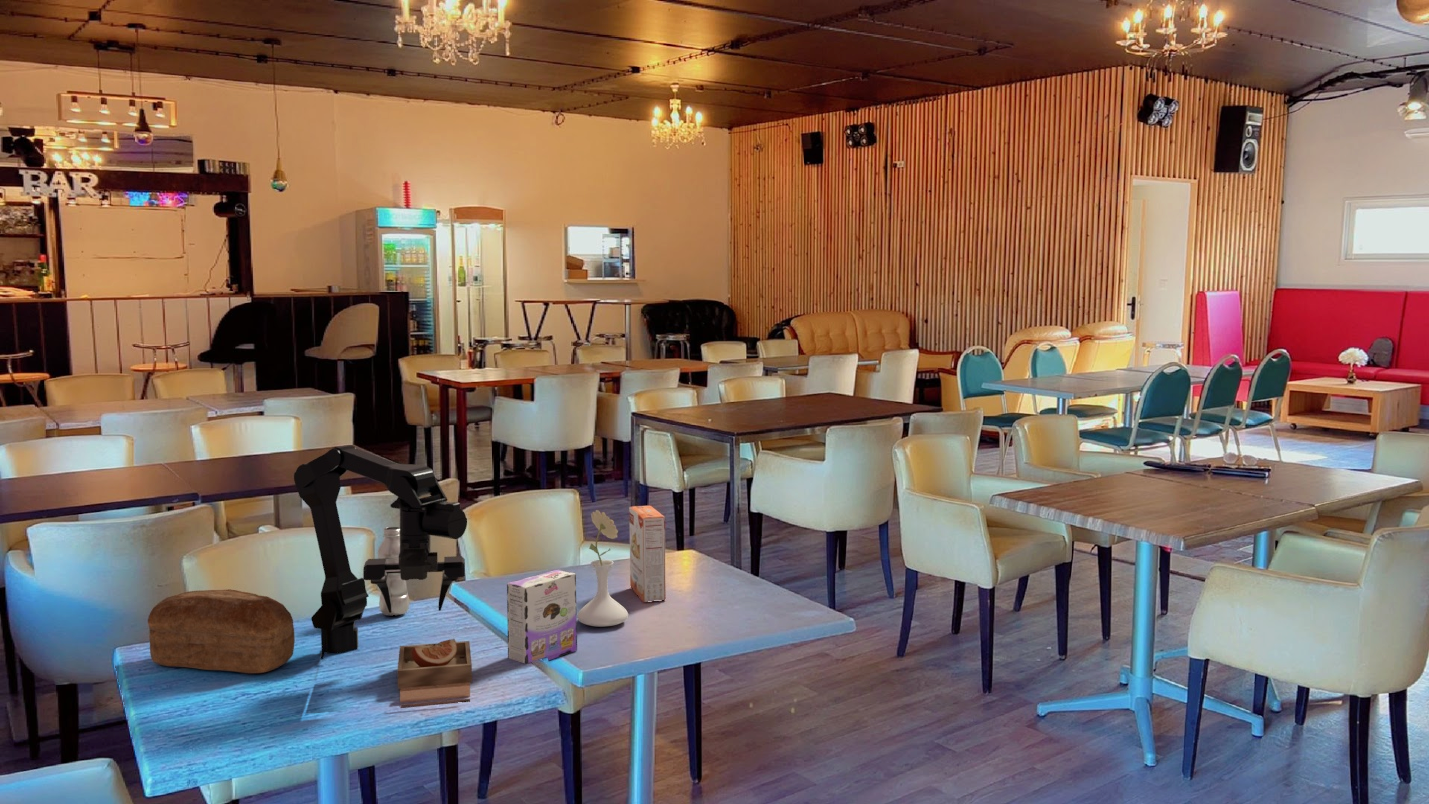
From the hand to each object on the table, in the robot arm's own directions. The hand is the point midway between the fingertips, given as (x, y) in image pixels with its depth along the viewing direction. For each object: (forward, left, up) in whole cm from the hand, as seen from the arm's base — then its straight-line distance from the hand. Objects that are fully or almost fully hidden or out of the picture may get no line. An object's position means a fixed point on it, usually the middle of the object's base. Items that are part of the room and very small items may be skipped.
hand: (415, 611), depth 206 cm
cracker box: (+54, +40, -12) cm, 68 cm away
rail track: (+4, -6, -12) cm, 14 cm away
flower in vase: (+40, +21, -12) cm, 46 cm away
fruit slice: (+4, -10, -9) cm, 13 cm away
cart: (+4, -9, -11) cm, 14 cm away
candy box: (+25, +1, -12) cm, 27 cm away
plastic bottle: (-5, +38, -12) cm, 40 cm away
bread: (-37, +12, -12) cm, 41 cm away
